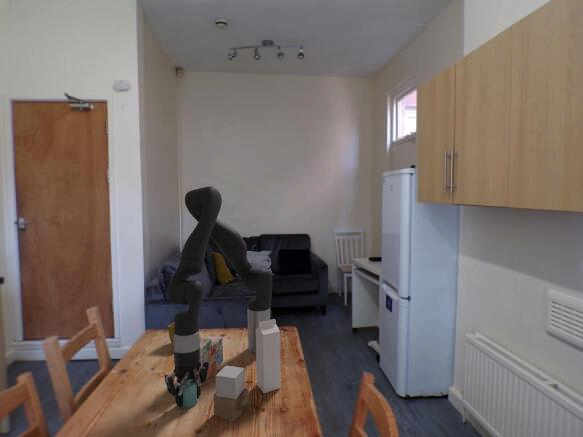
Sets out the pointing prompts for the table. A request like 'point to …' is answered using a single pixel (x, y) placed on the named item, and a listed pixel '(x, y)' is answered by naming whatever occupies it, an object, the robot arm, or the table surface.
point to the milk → (268, 356)
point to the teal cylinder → (189, 394)
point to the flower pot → (171, 332)
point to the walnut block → (231, 406)
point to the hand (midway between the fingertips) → (188, 401)
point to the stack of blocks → (211, 352)
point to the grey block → (230, 382)
